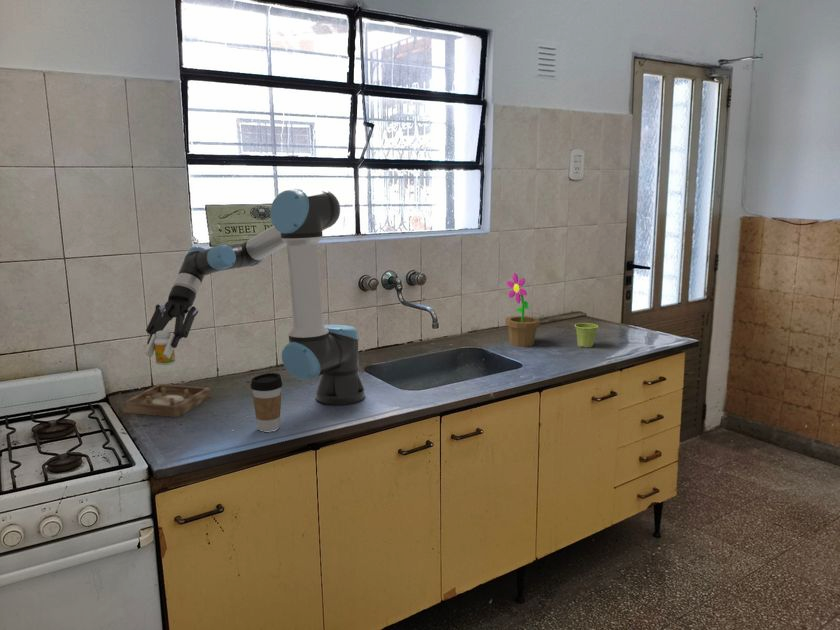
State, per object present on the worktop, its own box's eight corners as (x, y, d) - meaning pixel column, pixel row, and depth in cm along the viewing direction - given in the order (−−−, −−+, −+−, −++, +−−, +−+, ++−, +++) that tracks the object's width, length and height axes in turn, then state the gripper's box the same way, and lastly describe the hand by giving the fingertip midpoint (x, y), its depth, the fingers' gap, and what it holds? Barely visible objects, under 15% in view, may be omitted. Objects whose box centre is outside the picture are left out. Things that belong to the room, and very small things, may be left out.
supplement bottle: (152, 363, 194) (149, 331, 192) (169, 359, 198) (167, 328, 196) (161, 366, 191) (158, 334, 188) (178, 362, 195) (175, 331, 192)
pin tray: (159, 392, 207) (158, 382, 206) (210, 396, 203) (209, 385, 203) (123, 412, 190) (121, 400, 189) (178, 417, 186) (177, 405, 185)
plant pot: (580, 349, 260) (581, 328, 258) (569, 343, 269) (570, 323, 267) (601, 348, 262) (602, 327, 260) (589, 342, 271) (591, 322, 269)
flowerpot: (497, 342, 271) (499, 271, 264) (523, 337, 278) (525, 268, 272) (520, 349, 259) (523, 276, 253) (546, 345, 267) (549, 273, 260)
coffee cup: (289, 430, 177) (287, 378, 174) (259, 437, 172) (257, 383, 169) (277, 420, 184) (274, 370, 181) (248, 427, 179) (245, 375, 176)
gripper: (216, 299, 203) (190, 363, 191) (164, 296, 207) (136, 359, 195) (205, 285, 197) (179, 351, 185) (152, 283, 201) (123, 347, 189)
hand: (157, 355), depth 190 cm, fingers closed on supplement bottle, 5 cm apart
